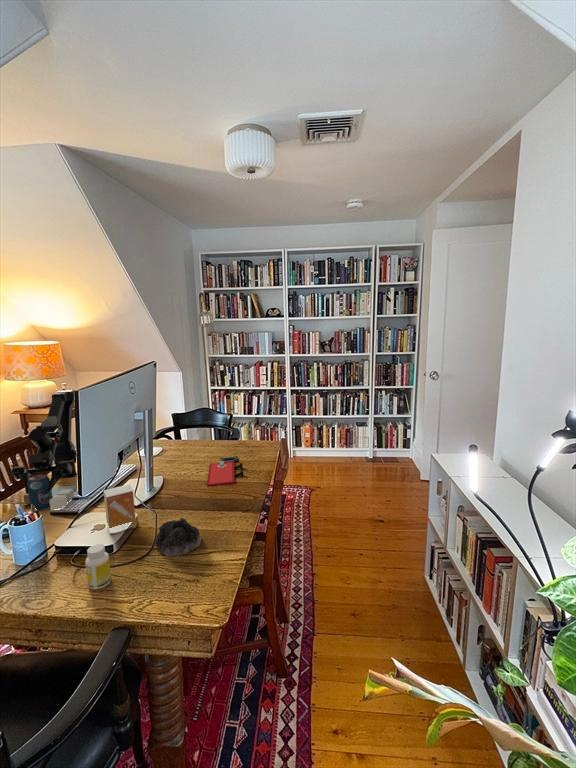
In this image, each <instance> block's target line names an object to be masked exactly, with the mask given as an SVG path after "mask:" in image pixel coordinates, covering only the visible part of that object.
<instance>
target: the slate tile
mask: <svg viewBox="0 0 576 768" xmlns="http://www.w3.org/2000/svg"><path fill="white" fill-rule="evenodd" d="M77 486H78V485H70V486H67V485H66V486H54V487H53V489H52V490H51V491H52V498H53V497H54V496H56V495H57V494H58V493H59V492H60V491H61V490H64V489H73V493H75V491H77V490H78V488H77Z"/></svg>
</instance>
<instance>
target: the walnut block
mask: <svg viewBox="0 0 576 768" xmlns="http://www.w3.org/2000/svg"><path fill="white" fill-rule="evenodd" d="M23 501H24V505H25V504H30V499H29V494H27V493H26V492H25V493H24V494H23Z"/></svg>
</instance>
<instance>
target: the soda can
mask: <svg viewBox="0 0 576 768" xmlns="http://www.w3.org/2000/svg"><path fill="white" fill-rule="evenodd" d="M50 480H51V477H49V476H48V473H36V474H34V475H32V476H31V475H30V478H29V481H28V483H27V486H28V492H29V499H30V505H31V504H33V505H34V506H35V508H36V509H37V510H39V511H38V512H41V511H42V512H43V511H45V510H47V509H50V502H49V500H51V499H52V491H49V484H50Z"/></svg>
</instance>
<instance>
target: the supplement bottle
mask: <svg viewBox="0 0 576 768" xmlns="http://www.w3.org/2000/svg"><path fill="white" fill-rule="evenodd" d="M86 553H87V554H86V555H87V557H86V559H85V562H84V564H85V571H86V577H87V578H86V579H87V585H88V588H89V589H91V590H101V589H103V588H105V587H107V586H108V585H109V584H110V583H111V582H112V581H111V580H112V572H111V571H112V569H111V563H110V557H109V556H110V555H109V553H108V552H107V551H106V548H105V544H102V543H98V544H97V543H95V544H94V545H92V546H89V547H88V549H87V550H86Z"/></svg>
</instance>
